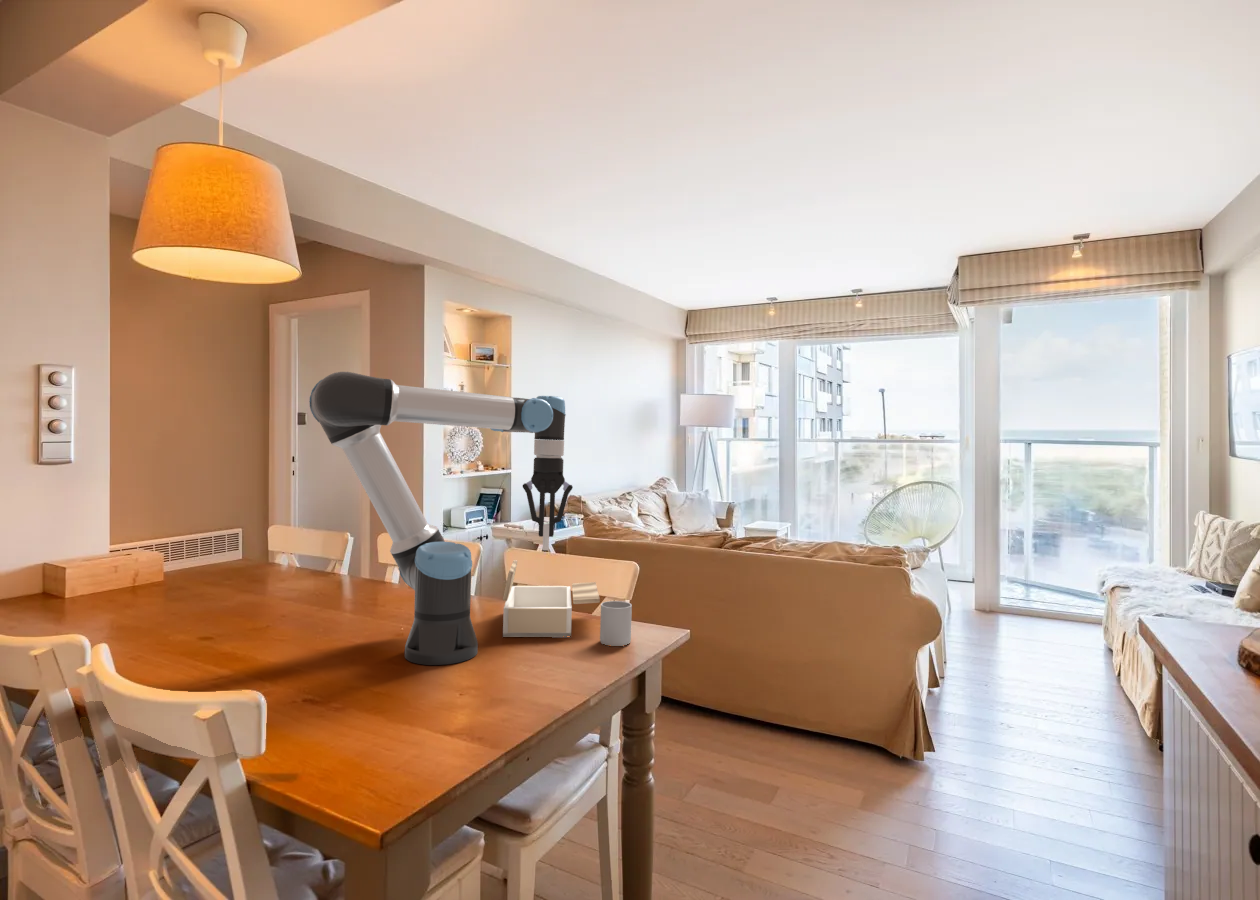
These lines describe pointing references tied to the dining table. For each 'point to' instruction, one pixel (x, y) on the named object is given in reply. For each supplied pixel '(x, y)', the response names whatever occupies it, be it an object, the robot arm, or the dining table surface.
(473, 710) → the dining table surface
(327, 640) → the dining table surface
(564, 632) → the carton
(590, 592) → the flap
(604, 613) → the cup
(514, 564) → the flap
